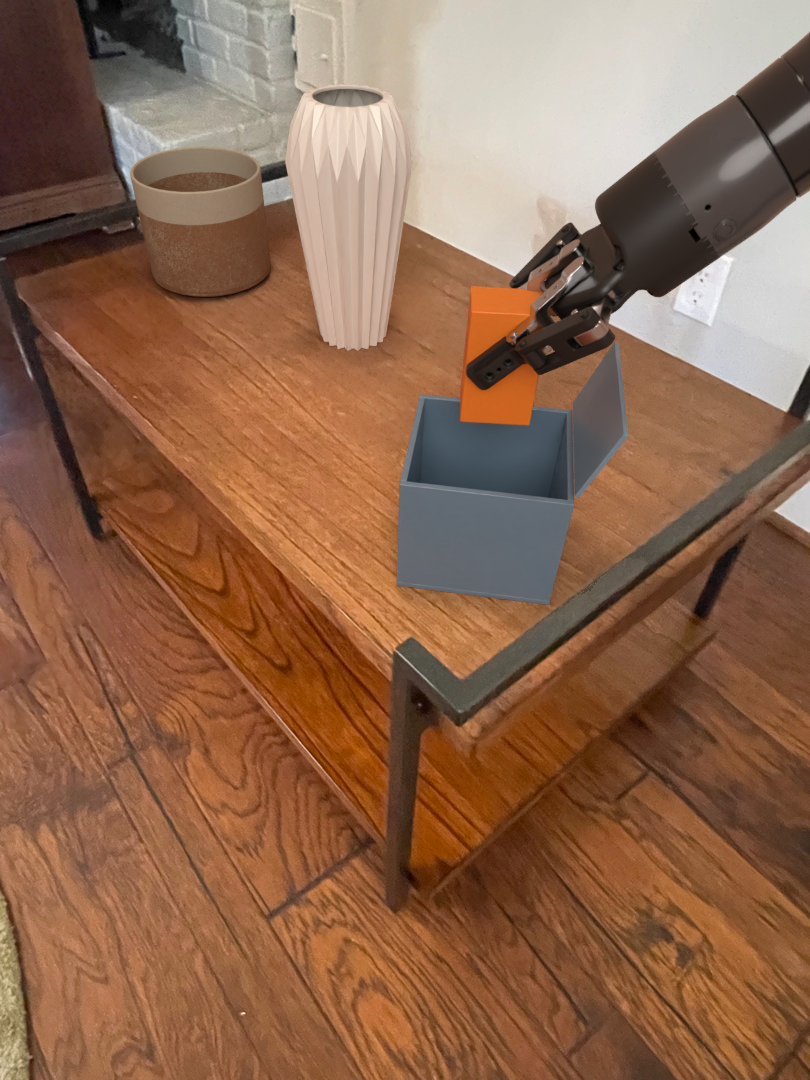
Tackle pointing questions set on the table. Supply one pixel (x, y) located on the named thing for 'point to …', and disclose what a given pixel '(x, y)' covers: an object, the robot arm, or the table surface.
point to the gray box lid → (598, 420)
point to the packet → (487, 325)
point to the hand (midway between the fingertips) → (473, 362)
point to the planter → (202, 219)
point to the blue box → (485, 503)
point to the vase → (350, 205)
